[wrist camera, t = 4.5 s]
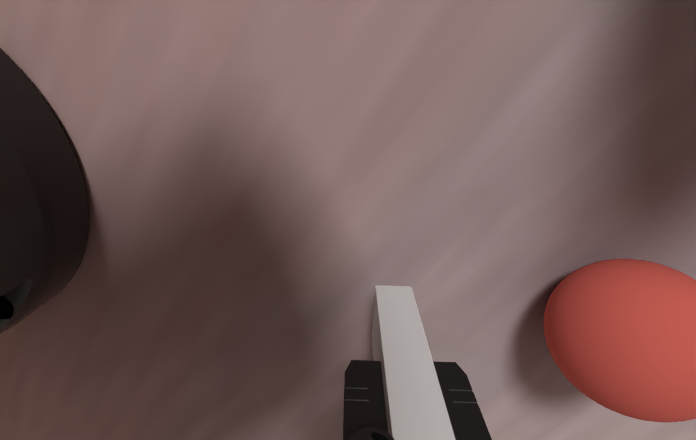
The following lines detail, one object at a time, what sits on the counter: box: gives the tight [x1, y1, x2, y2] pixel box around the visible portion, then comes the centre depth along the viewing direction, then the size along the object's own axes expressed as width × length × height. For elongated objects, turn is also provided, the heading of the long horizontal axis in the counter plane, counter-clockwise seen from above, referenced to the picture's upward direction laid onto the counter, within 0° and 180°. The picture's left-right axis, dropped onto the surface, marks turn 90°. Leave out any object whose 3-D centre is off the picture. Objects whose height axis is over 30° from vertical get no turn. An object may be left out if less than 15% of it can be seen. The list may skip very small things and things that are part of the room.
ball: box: [544, 259, 696, 422], centre depth 14 cm, size 6×6×6 cm
